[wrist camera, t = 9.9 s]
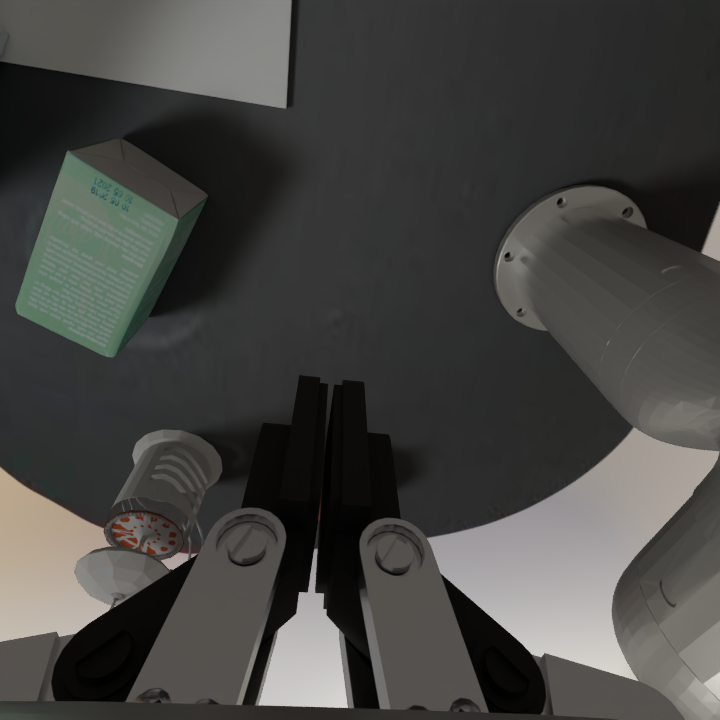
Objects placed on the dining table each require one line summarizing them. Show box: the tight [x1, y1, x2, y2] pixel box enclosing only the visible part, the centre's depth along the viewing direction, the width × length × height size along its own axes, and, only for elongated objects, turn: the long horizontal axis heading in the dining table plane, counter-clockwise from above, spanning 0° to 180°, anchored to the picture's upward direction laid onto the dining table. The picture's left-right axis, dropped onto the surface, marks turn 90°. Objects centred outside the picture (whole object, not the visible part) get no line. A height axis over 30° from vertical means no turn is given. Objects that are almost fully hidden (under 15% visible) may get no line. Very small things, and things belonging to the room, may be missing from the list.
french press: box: [74, 430, 222, 610], centre depth 38 cm, size 10×12×25 cm
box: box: [15, 138, 208, 357], centre depth 33 cm, size 7×14×8 cm, turn 145°
